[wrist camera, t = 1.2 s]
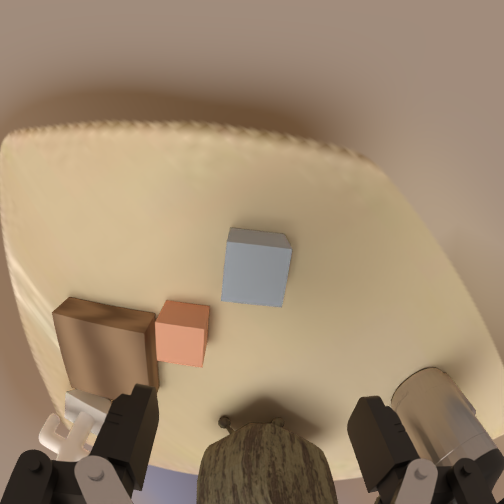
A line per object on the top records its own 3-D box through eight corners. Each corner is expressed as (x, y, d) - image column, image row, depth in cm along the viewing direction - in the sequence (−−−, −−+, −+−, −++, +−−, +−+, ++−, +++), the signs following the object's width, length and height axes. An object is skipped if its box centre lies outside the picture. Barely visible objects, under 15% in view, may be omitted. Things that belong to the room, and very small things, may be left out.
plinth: (155, 313, 29) (144, 333, 25) (159, 387, 32) (152, 408, 28) (69, 296, 28) (51, 312, 25) (83, 368, 32) (71, 387, 28)
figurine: (70, 371, 32) (21, 446, 17) (128, 402, 33) (95, 488, 19) (67, 399, 34) (29, 466, 19) (120, 426, 35) (92, 502, 21)
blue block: (284, 233, 27) (292, 249, 22) (275, 283, 28) (281, 307, 24) (230, 227, 27) (226, 241, 22) (224, 277, 28) (220, 300, 23)
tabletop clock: (205, 416, 34) (186, 587, 10) (253, 384, 32) (261, 589, 8) (277, 454, 37) (291, 591, 13) (323, 428, 35) (360, 577, 11)
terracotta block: (209, 305, 29) (204, 329, 25) (207, 341, 30) (202, 367, 26) (166, 299, 29) (155, 321, 24) (166, 335, 30) (156, 360, 26)
